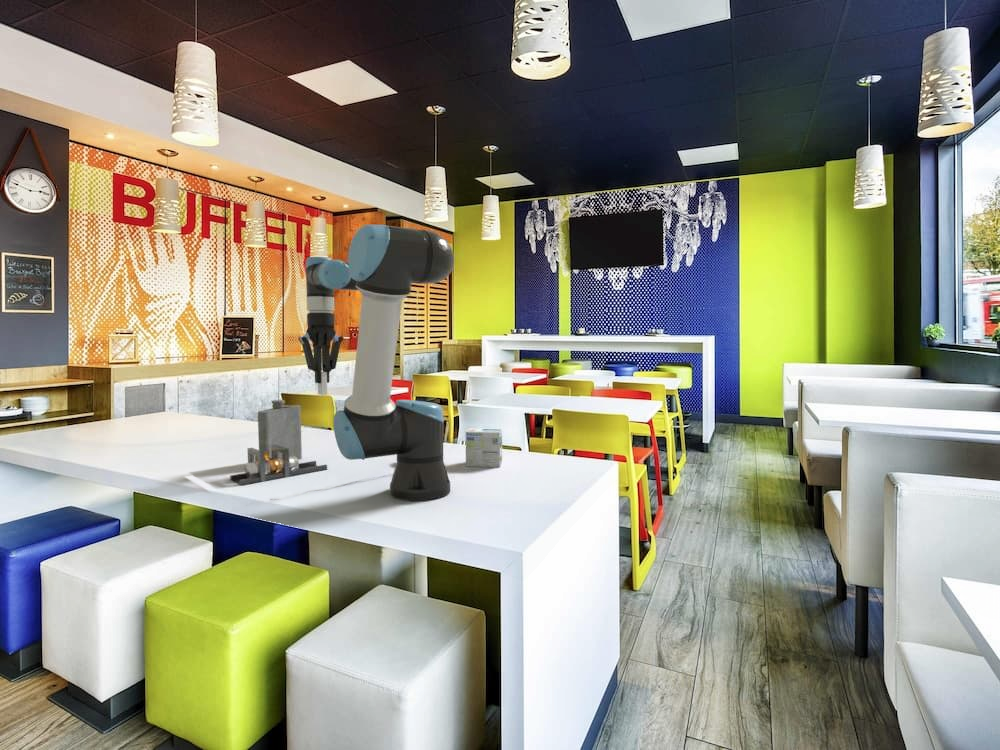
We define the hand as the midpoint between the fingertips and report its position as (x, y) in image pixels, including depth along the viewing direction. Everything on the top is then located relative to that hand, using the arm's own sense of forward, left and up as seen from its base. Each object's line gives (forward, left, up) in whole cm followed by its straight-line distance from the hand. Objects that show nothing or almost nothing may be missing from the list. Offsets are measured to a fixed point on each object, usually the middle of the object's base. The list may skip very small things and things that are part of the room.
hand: (322, 394), depth 162 cm
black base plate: (0, +13, -22) cm, 26 cm away
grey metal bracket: (0, +16, -21) cm, 27 cm away
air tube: (0, +15, -21) cm, 26 cm away
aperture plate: (+5, +16, -22) cm, 28 cm away
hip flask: (+13, +7, -23) cm, 27 cm away
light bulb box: (-28, -38, -23) cm, 52 cm away
